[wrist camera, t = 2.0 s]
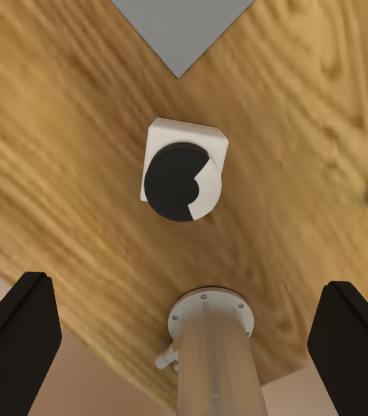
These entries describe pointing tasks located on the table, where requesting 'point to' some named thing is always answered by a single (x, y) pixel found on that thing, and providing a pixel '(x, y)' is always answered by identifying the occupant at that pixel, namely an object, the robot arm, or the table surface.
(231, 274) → the table surface
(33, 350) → the robot arm
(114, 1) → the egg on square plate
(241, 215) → the table surface
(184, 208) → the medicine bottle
